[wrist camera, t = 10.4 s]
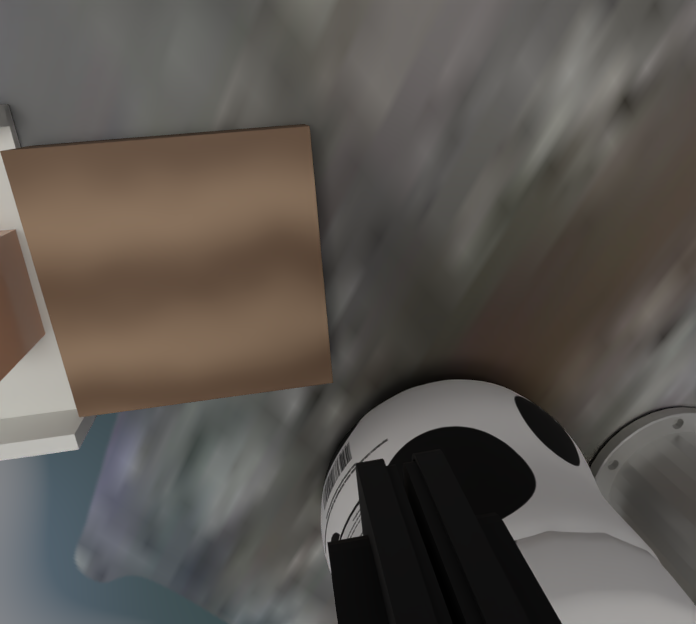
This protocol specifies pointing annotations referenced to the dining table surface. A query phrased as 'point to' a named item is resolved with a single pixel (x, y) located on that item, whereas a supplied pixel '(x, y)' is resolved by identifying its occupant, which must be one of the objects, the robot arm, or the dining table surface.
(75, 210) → the brown square slab
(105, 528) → the dining table surface
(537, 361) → the dining table surface
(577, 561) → the milk container
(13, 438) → the tray
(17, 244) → the terracotta tile
